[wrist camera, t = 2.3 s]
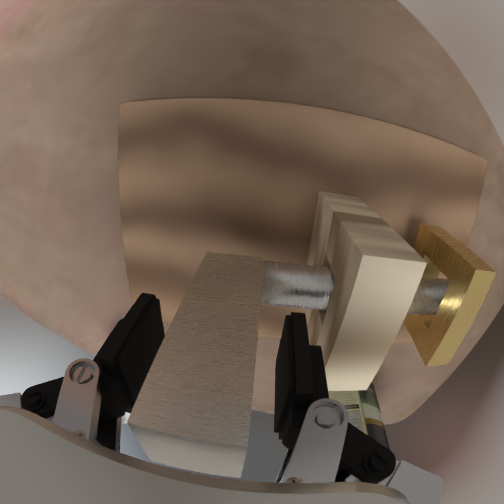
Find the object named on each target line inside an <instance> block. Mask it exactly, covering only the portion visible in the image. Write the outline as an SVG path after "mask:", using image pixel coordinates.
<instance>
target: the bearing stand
mask: <svg viewBox="0 0 504 504" xmlns="http://www.w3.org/2000/svg"><path fill="white" fill-rule="evenodd" d="M486 165H487V160H486V159H484V158H482V157H480V156H477V155H475V154H473V153H471V152H468V151H466V150H464V149H462V148H459V147H457V146H454V145H452V144H449V143H447V142H444V141H442V140H439V139H436V138H434V137H431V136H428V135H425V134H422V133H419V132H416V131H413V130H410V129H407V128H404V127H400V126H397V125H394V124H390V123H386V122H383V121H379V120H375V119H371V118H367V117H363V116H359V115H354V114H350V113H345V112H340V111H335V110H330V109H324V108H318V107H312V106H305V105H298V104H291V103H282V102H273V101H262V100H248V99H228V98H180V99H160V100H147V101H136V102H127V103H120V111H119V136H118V171H119V196H120V212H121V224H122V234H123V244H124V252H125V260H126V267H127V274H128V280H129V286H130V292H131V298H132V303H133V304H134V303H135V301H136V300H137V299H138V297H139V296H140V294H141V293H148V294H154V295H155V296H156V298H158V299H159V300H160V306H161V314H162V321H163V323H167V324H171V322H172V320H173V318H174V316H175V314H176V312H177V310H178V308H179V306H180V304H181V302H182V300H183V298H184V296H185V294H186V292H187V289H188V287H189V285H190V283H191V281H192V279H193V277H194V276H195V274H196V272H197V270H198V268H199V266H200V264H201V262H202V260H203V258H204V256H205V254H206V252H216V253H225V254H235V255H244V256H253V257H262V258H264V260H265V261H274V262H283V263H293V264H302V265H312V266H322V267H331V269H332V272H333V274H334V277H335V282H334V286H333V290H332V293H331V297H330V301H329V304H328V308H327V311H326V310H313V309H301V308H289V307H279V306H269V305H260V315H259V327H258V337H268V338H279V339H281V335H282V331H283V326H284V321H285V316H286V315H290V314H291V312H298V313H305V315H306V323H307V330H308V338H309V341H310V345H318V346H321V349H322V354H323V360H324V366H325V373H326V379H327V386H328V391H354V390H367V388H368V387H369V385H370V383H371V382H372V380H373V378H374V377H375V375H376V373H377V371H378V370H379V368H380V366H381V364H382V363H383V361H384V359H385V357H386V355H387V353H388V351H389V350H390V348H391V346H392V344H393V343H410V342H414V341H413V339H412V337H411V335H410V334H409V332H408V330H407V328H406V326H405V324H404V322H403V321H404V319H405V317H406V314H407V312H408V310H409V308H410V305H411V303H412V301H413V298H414V296H415V293H416V291H417V288H418V286H419V283H420V281H421V278H422V275H423V273H424V270H425V267H426V264H427V262H426V261H425V260H424V259H423V258H422V257H421V256H420V255H419V254H418V253H417V252H416V251H415V250H414V249H413V248H414V245H415V242H416V238H417V235H418V231H419V228H420V224H421V223H423V224H428V225H433V226H438V227H441V228H443V229H444V230H445V231H447V232H448V233H449V234H451V235H452V236H453V237H455V238H456V239H457V240H458V241H460V242H461V243H462V244H464V245H465V246H466V247H467V244H468V241H469V237H470V234H471V231H472V227H473V224H474V220H475V217H476V213H477V209H478V205H479V201H480V196H481V192H482V187H483V182H484V177H485V171H486ZM438 278H444V279H448V278H447V277H446V276H445V275H444V274H443V273H442V272H441V271H440V273H439V275H438Z"/></svg>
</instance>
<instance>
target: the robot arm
mask: <svg viewBox="0 0 504 504" xmlns="http://www.w3.org/2000/svg"><path fill="white" fill-rule="evenodd" d="M164 337H165V335H164V328H163V321H162V314H161V306H160V300H159V299H158V298H156V296H155V295H154V294H148V293H141V294H140V296H139V297H138V299H137V300H136V301H135V303H134V304H133V306H132V307H131V309H130V310H129V311H128V313H127V314H126V316H125V317H124V319H121V320H120V321H119V322H118V323H117V325H116V326H115V328H114V329H113V331H112V332H111V334H110V335H109V337H108V338H107V340H106V341H105V343H104V344H103V346H102V347H101V349H100V350H99V352H98V353H97V355H96V356H95V358H94V360H93V361H92V360H90V359H78V360H75V361H74V362H72V363H71V364H70V365H69V366H68V368H67V370H66V372H65V376H64V377H61V378H58V379H55V380H52V381H48V382H45V383H41V384H38V385H35V386H32V387H30V388H28V389H26V390H25V391H24V393H23V395H21V394H20V393H15V394H8V395H2V396H0V504H438V502H439V500H440V498H441V495H442V493H443V490H444V483H443V481H442V480H441V478H440V477H438V476H437V475H435V474H432V473H430V472H427V471H425V470H423V469H421V468H418V467H416V466H414V465H412V464H409V463H407V462H405V461H403V460H402V461H401V462H399V461H397V460H396V459H395V456H394V454H393V453H392V452H391V451H390V450H389V449H388V448H386V447H385V446H383V445H382V444H380V443H379V442H377V441H376V440H374V439H373V438H371V437H370V436H368V435H367V434H365V433H364V432H362V431H361V430H359V429H358V428H356V427H355V426H353V425H352V424H351V423H349V422H348V420H349V414H348V411H347V409H346V408H345V406H344V405H343V404H341V403H340V402H338V401H336V400H333V399H329V393H328V386H327V379H326V373H325V366H324V360H323V354H322V349H321V346H318V345H309V338H308V330H307V323H306V315H305V313H298V312H291V314H290V315H286V316H285V321H284V326H283V331H282V335H281V340H280V345H279V350H278V354H277V359H276V372H275V417H274V432H278V433H279V439H281V440H282V444H283V445H284V446H286V447H287V448H288V451H287V454H286V456H285V459H284V461H283V464H282V466H281V469H280V471H279V474H278V476H277V478H276V481H275V483H269V482H252V481H242V480H233V479H225V478H218V477H211V476H206V475H200V474H195V473H190V472H185V471H181V470H176V469H172V468H168V467H164V466H160V465H157V464H153V463H150V462H146V461H143V460H140V459H137V458H134V457H131V456H128V455H125V454H122V453H120V437H121V419H122V416H124V415H125V413H126V412H127V413H131V411H132V409H133V406H134V404H135V402H136V399H137V397H138V395H139V392H140V390H141V388H142V386H143V383H144V381H145V379H146V377H147V374H148V372H149V370H150V368H151V365H152V363H153V361H154V359H155V357H156V354H157V352H158V350H159V348H160V346H161V344H162V341H163V339H164Z"/></svg>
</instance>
